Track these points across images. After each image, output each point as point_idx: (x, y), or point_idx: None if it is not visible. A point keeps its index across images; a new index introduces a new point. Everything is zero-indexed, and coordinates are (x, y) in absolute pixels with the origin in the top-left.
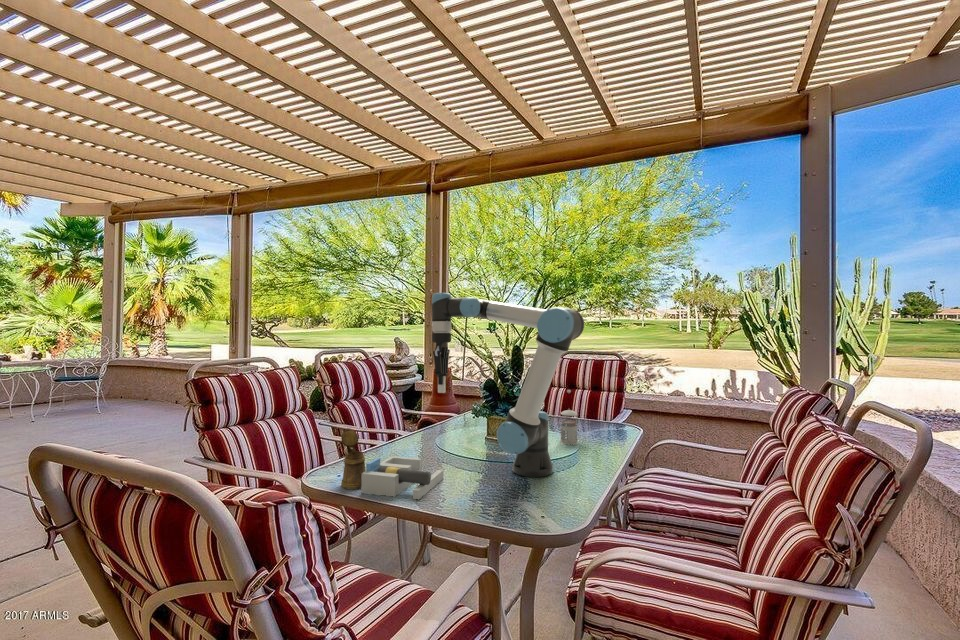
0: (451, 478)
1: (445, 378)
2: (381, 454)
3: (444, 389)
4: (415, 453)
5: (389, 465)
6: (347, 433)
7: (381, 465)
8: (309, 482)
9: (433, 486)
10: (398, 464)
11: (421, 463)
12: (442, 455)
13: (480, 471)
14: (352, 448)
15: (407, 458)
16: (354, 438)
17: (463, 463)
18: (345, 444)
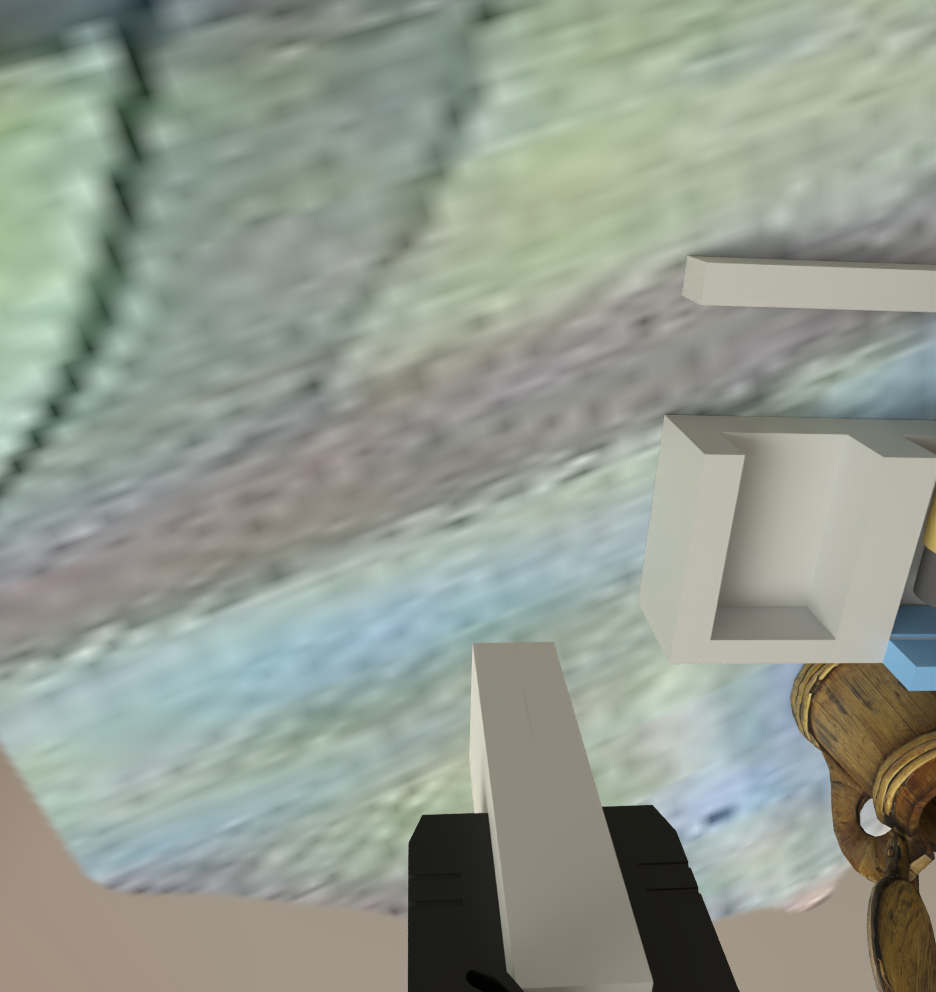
0: (675, 197)
1: (510, 907)
2: (284, 812)
3: (552, 687)
4: (176, 645)
5: (890, 589)
6: (914, 989)
7: (891, 632)
8: (831, 872)
9: (866, 262)
10: (863, 547)
11: (698, 442)
12: (144, 453)
13: (462, 4)
14: (921, 860)
15: (715, 549)
16: (891, 922)
17: (292, 219)
18: (929, 917)
